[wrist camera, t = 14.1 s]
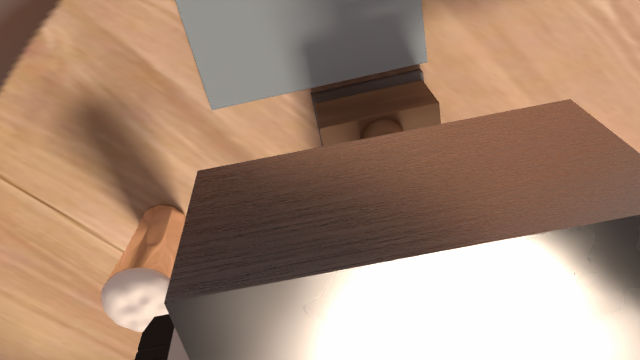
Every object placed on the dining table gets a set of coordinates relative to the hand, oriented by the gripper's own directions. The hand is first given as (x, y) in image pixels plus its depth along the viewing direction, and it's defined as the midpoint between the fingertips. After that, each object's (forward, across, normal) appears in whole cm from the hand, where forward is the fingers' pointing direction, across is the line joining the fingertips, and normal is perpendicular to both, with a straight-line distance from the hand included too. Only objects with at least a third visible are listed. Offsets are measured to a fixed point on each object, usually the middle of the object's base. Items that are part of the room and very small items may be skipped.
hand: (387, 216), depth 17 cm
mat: (+19, -1, +3) cm, 19 cm away
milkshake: (+19, -14, -10) cm, 25 cm away
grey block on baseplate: (-1, 0, 0) cm, 1 cm away
